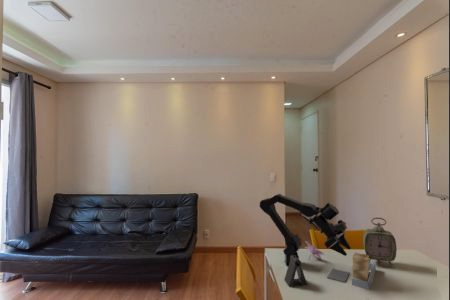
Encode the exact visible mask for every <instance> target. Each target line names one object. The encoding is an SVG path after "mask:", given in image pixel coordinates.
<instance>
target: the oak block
mask: <svg viewBox="0 0 450 300" xmlns="http://www.w3.org/2000/svg"><path fill="white" fill-rule="evenodd" d="M369 272H370V269H369V255H366V253H365V254H364V253H358V252H354V254H353V255H352V278H355V279H359V280H363V281H367V282H368V278H369Z"/></svg>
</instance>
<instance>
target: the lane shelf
mask: <svg viewBox="0 0 450 300" xmlns="http://www.w3.org/2000/svg"><path fill="white" fill-rule="evenodd" d="M376 266H377V265H376V262H375V261H374V262H370V263H369V278H368V282H367V281H363V280H359V279H355V278H353V277H351V286H355V287H359V288H362V289H366V290H371V289H372V288H371V287H372V284H373V281H374V277H375V273H376V270H377V269H376Z"/></svg>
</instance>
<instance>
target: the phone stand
mask: <svg viewBox="0 0 450 300" xmlns="http://www.w3.org/2000/svg"><path fill="white" fill-rule="evenodd" d="M294 256H295V255H294ZM294 256H293V255H291V256H290V263H289V266H287V270H286V273H285V276H284V282H285V283H286V285H287V286H288V287H289V288H291V287H292V288H293V287H302V286H308V285H309V284H308V281H307V279H306V276H305V274H304V271H303V268H302V261H301V259H300V258H299V259H298V258H297V257H296V256H295V258H294ZM296 274H297V278H295V276H296Z"/></svg>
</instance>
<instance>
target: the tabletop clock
mask: <svg viewBox="0 0 450 300" xmlns="http://www.w3.org/2000/svg"><path fill="white" fill-rule="evenodd" d="M374 220H382V221H384V222H385V223H382V224H381V223H380V222H377V223H374V222H373V221H374ZM371 223H372V225H374V227H373V228H369V229H365V230H364V232H363V239H362V240H363V241H362V243H363V249H364V252H365V255H369V263H371V260H374V261H376V263H380V262H388V263H389V267H390V268H394V266H395V265H394V264H392V263H391V262H394V261H395V259H397V258H396V257H397V251H398V250H397V241H396V238H395V236H394V235H393V233H392V232H390V231H389V230H386V229H384V227H383V226H385V225H386V224H387V221H386V219H384V218H383V217H373V218H371Z"/></svg>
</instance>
